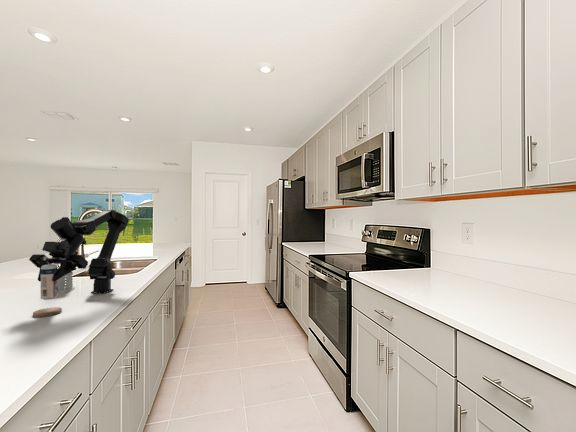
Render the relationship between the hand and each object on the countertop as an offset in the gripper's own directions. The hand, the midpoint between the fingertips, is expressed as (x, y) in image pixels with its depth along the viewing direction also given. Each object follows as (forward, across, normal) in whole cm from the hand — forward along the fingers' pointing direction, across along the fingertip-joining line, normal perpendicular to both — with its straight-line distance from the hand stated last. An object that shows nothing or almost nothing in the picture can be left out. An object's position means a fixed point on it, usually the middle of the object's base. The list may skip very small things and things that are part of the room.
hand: (46, 280), depth 102 cm
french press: (-14, -20, +32) cm, 40 cm away
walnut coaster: (+8, 0, +10) cm, 12 cm away
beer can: (+4, 0, +6) cm, 7 cm away
